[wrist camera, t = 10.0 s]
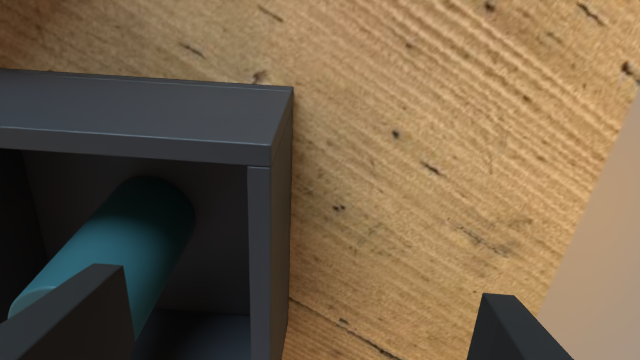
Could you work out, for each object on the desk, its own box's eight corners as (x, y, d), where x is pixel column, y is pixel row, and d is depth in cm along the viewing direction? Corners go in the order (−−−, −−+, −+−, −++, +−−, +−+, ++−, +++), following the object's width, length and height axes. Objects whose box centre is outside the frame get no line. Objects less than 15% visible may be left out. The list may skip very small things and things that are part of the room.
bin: (288, 320, 24) (270, 424, 19) (53, 302, 24) (-25, 398, 19) (293, 86, 19) (271, 144, 14) (-5, 67, 19) (-132, 117, 14)
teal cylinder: (198, 253, 22) (135, 385, 16) (116, 247, 22) (21, 375, 16) (192, 178, 20) (119, 292, 14) (104, 172, 20) (-8, 282, 14)
